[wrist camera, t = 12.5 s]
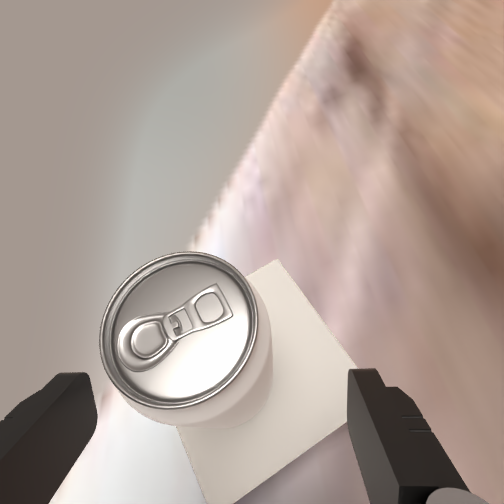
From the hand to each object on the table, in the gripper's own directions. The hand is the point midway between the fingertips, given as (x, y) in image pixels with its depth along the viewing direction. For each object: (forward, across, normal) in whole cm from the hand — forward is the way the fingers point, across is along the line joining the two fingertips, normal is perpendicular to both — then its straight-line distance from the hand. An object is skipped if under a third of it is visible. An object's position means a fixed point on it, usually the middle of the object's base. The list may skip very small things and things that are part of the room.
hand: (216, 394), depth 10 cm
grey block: (+15, 0, +11) cm, 18 cm away
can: (+10, +2, +7) cm, 13 cm away
